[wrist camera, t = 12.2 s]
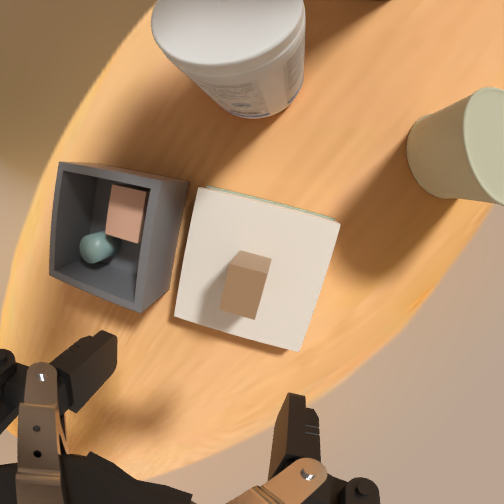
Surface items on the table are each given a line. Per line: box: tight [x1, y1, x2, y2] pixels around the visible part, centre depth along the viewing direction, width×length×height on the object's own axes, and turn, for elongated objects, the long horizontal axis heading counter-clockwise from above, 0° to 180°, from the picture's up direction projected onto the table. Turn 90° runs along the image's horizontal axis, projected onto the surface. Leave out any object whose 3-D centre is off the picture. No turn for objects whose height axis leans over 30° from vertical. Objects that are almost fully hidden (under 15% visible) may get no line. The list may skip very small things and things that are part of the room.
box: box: [49, 162, 189, 313], centre depth 28 cm, size 12×12×7 cm
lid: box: [174, 187, 341, 352], centre depth 27 cm, size 13×13×7 cm
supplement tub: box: [151, 0, 305, 119], centre depth 20 cm, size 10×10×15 cm
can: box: [406, 87, 504, 206], centre depth 20 cm, size 9×9×12 cm
